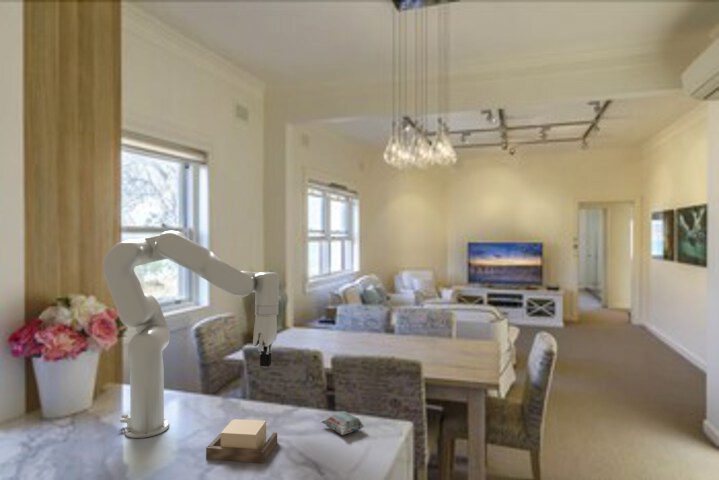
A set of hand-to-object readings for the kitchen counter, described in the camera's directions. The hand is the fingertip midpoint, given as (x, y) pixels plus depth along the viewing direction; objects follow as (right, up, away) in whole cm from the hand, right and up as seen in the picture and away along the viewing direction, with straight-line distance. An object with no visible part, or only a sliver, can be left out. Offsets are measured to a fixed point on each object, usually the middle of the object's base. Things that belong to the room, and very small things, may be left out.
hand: (265, 365), depth 145 cm
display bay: (-2, -19, -19) cm, 27 cm away
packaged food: (+25, -19, -6) cm, 32 cm away
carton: (-2, -19, -19) cm, 27 cm away
